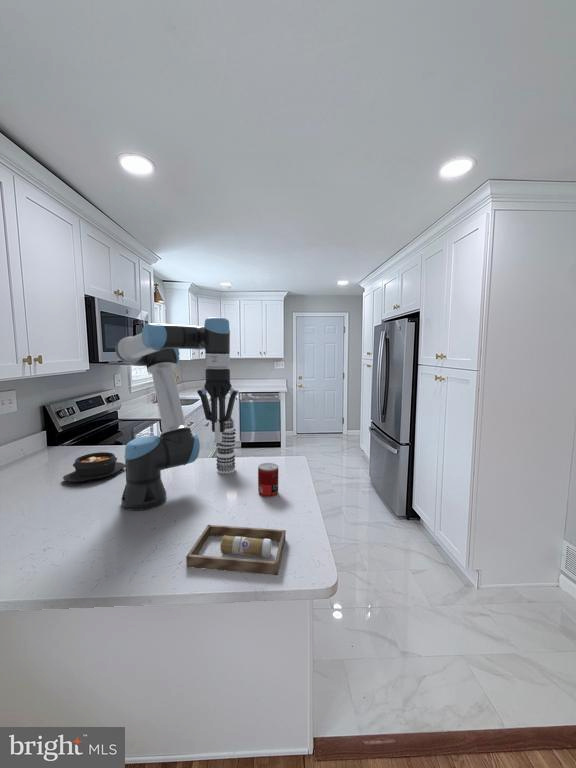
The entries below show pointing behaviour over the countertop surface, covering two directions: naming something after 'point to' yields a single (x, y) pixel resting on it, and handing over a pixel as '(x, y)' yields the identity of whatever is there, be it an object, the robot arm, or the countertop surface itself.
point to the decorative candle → (226, 449)
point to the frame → (236, 563)
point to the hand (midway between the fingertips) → (218, 441)
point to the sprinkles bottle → (246, 546)
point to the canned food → (268, 479)
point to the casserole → (94, 467)
